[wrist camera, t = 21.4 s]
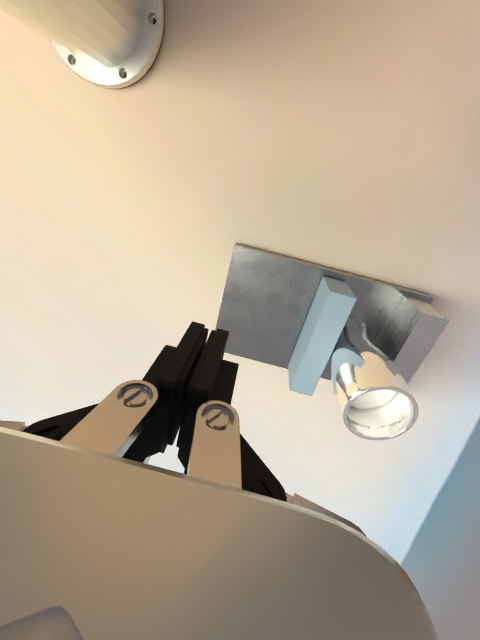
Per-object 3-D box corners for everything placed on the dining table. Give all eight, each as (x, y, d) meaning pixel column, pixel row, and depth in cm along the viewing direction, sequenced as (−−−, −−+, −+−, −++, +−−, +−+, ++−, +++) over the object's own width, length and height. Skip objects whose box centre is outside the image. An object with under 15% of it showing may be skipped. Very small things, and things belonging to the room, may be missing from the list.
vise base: (213, 343, 44) (201, 372, 38) (235, 242, 37) (226, 256, 30) (373, 385, 44) (390, 422, 38) (427, 293, 37) (460, 318, 30)
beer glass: (322, 359, 42) (343, 444, 28) (316, 317, 39) (337, 389, 25) (372, 353, 40) (420, 439, 27) (370, 309, 37) (422, 381, 24)
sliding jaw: (288, 365, 42) (289, 390, 37) (322, 275, 36) (330, 291, 31) (307, 370, 42) (311, 396, 37) (345, 281, 36) (356, 298, 31)
